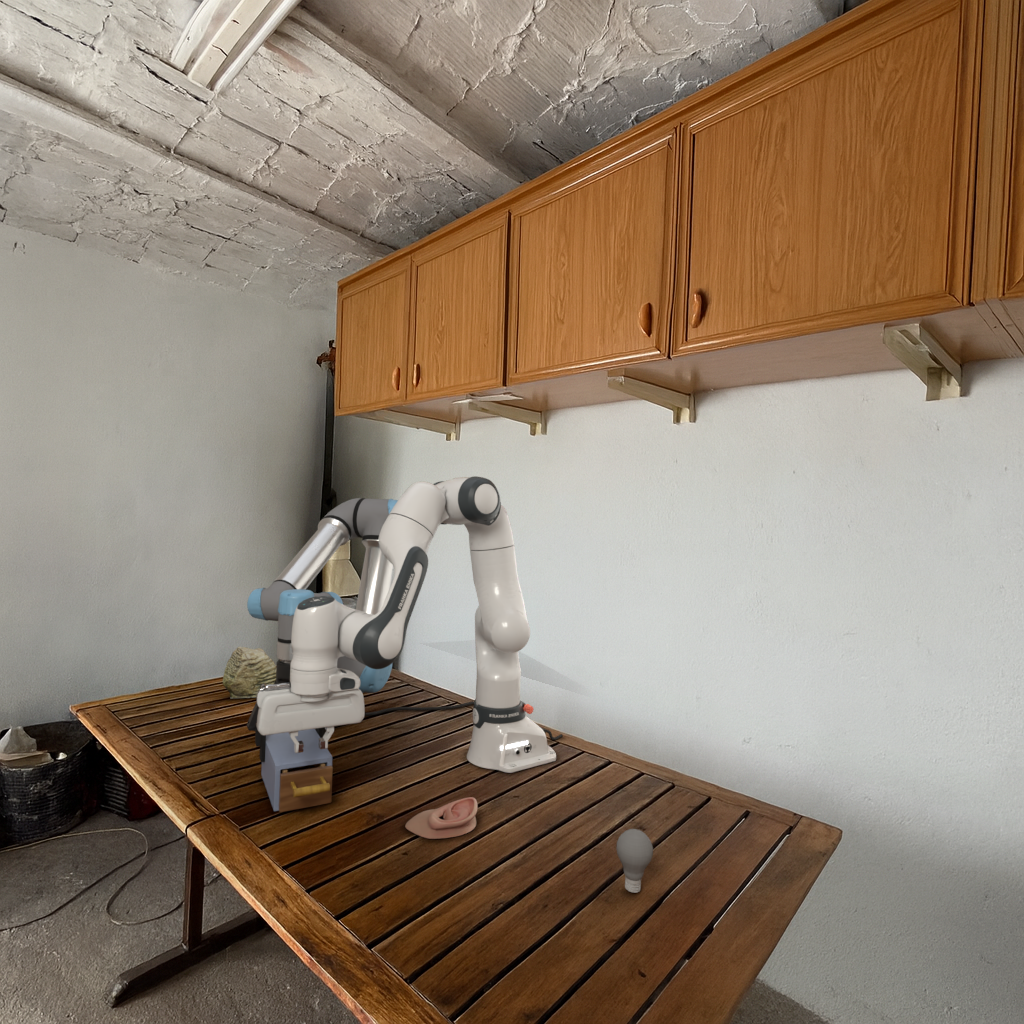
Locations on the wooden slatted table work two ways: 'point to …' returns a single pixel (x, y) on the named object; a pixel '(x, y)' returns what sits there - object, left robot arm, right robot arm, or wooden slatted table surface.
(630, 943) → the wooden slatted table surface
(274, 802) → the cabinet
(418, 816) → the anatomical model
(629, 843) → the light bulb
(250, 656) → the fossil
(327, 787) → the drawer
